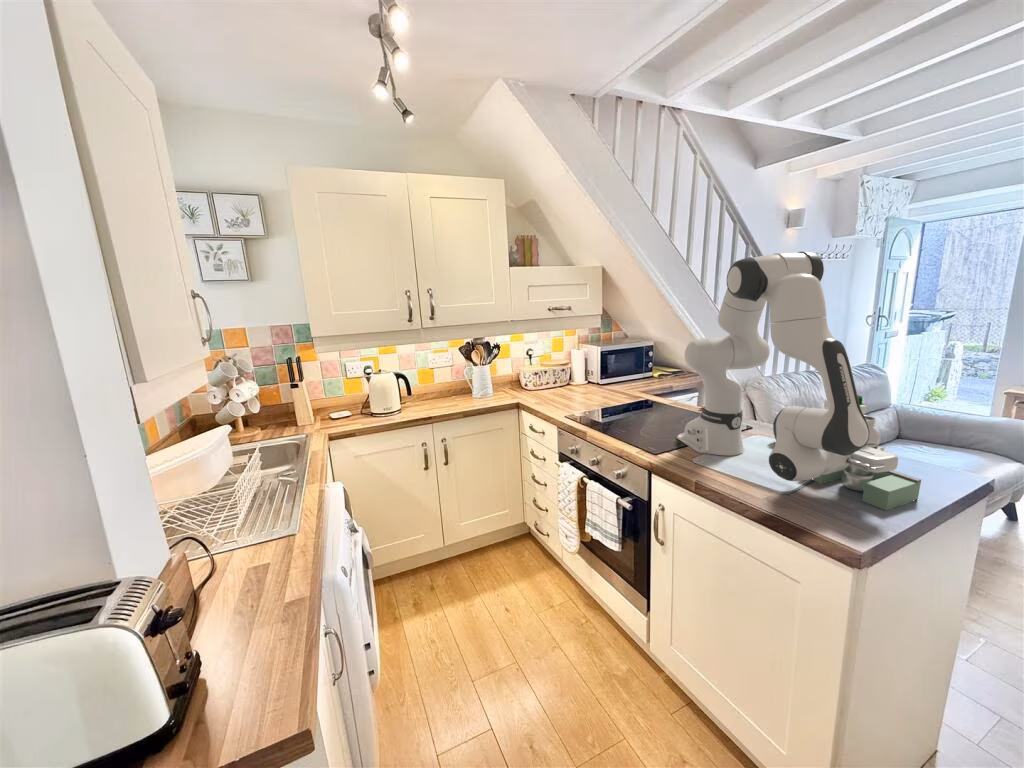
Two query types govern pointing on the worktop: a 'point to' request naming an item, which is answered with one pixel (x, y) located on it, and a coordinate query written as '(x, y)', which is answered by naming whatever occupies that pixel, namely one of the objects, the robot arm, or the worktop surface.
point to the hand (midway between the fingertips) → (864, 444)
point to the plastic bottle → (856, 476)
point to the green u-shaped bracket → (884, 488)
